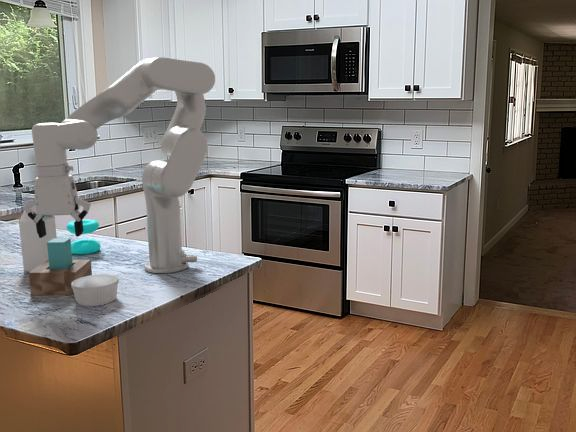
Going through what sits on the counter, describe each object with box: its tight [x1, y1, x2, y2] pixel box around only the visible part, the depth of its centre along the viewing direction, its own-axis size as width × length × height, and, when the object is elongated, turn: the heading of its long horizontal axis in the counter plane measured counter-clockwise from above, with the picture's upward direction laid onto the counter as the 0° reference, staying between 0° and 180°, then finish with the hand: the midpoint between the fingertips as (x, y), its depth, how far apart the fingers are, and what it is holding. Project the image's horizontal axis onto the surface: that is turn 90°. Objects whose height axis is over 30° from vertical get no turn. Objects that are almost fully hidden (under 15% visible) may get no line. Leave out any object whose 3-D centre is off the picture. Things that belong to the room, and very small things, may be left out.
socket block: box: [28, 259, 93, 296], centre depth 164 cm, size 12×12×6 cm
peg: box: [47, 237, 73, 269], centre depth 163 cm, size 4×4×12 cm
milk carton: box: [18, 206, 58, 273], centre depth 181 cm, size 7×7×19 cm
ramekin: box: [71, 273, 120, 307], centre depth 154 cm, size 11×11×5 cm
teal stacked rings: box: [66, 218, 101, 255], centre depth 201 cm, size 10×10×10 cm
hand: (60, 235), depth 162 cm, fingers open, 9 cm apart
